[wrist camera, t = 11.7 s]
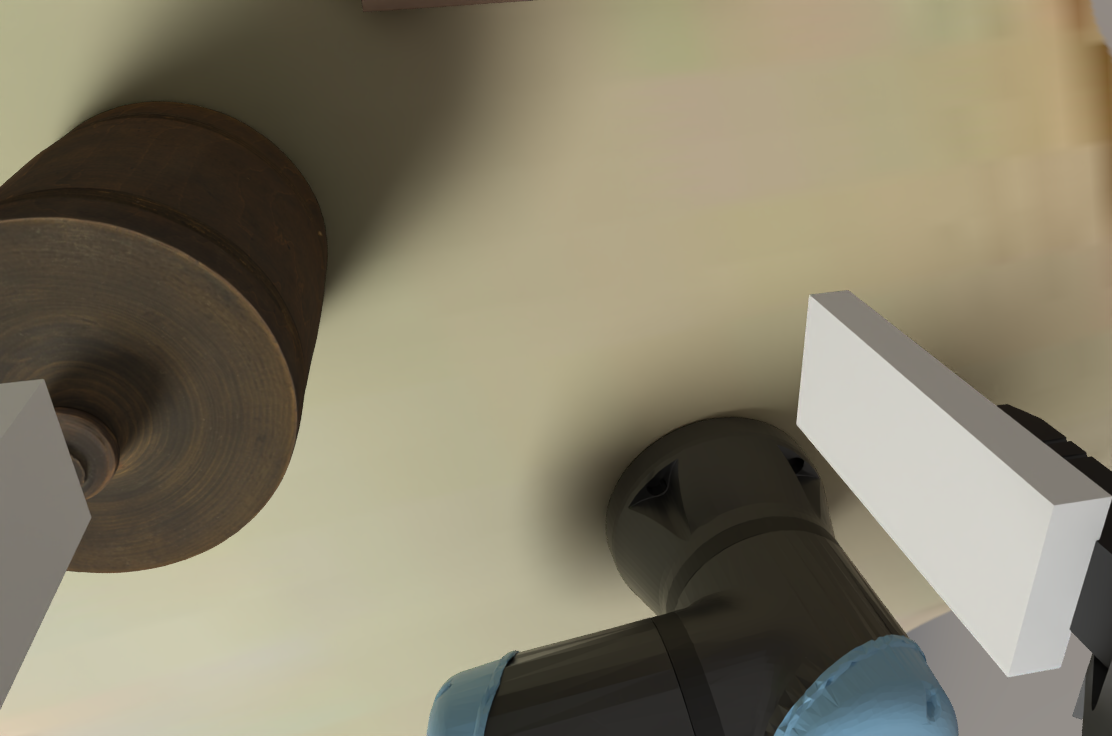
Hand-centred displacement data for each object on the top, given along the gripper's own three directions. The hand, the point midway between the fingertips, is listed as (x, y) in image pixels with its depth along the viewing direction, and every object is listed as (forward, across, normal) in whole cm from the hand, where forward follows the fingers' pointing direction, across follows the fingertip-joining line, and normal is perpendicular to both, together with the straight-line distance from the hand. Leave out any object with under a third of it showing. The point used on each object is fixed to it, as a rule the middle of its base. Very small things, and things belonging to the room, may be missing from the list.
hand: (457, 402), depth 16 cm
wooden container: (+34, +12, +7) cm, 37 cm away
